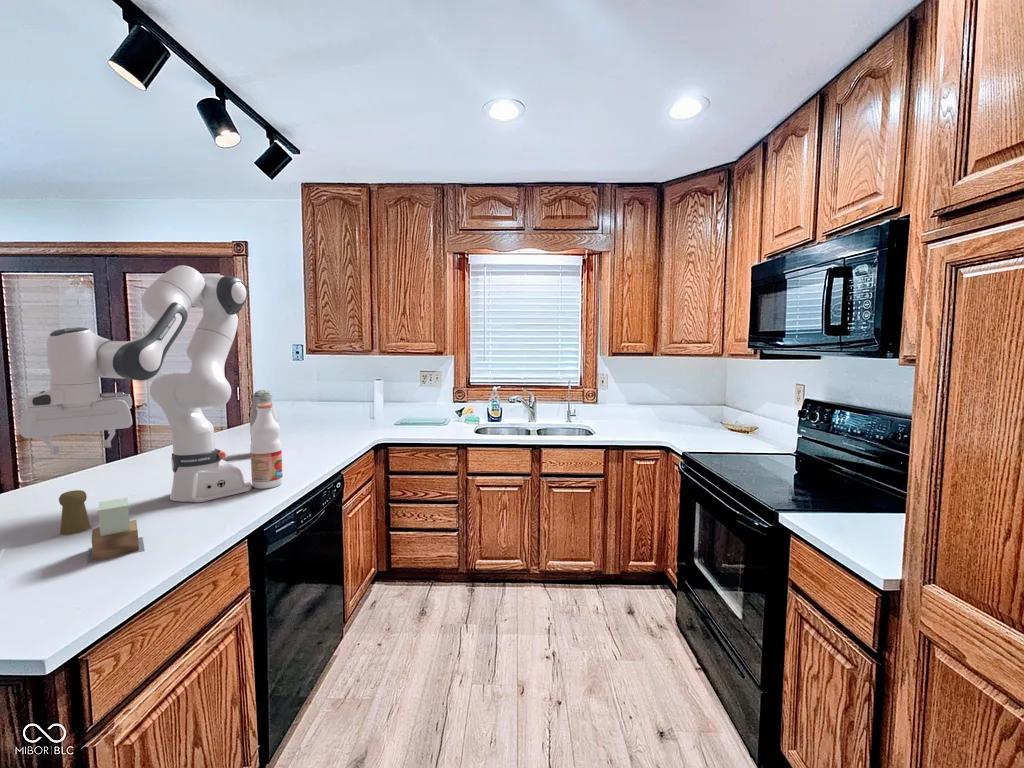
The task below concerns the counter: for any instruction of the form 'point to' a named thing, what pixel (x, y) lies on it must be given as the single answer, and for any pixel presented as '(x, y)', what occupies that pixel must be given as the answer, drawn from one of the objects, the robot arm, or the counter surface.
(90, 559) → the slate coaster
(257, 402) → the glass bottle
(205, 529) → the counter surface
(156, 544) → the counter surface
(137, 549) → the walnut base block
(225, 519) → the counter surface
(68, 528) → the cork
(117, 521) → the sage block
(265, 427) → the fruit juice
